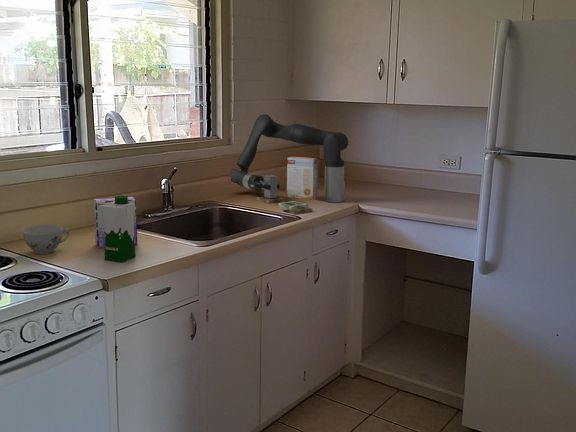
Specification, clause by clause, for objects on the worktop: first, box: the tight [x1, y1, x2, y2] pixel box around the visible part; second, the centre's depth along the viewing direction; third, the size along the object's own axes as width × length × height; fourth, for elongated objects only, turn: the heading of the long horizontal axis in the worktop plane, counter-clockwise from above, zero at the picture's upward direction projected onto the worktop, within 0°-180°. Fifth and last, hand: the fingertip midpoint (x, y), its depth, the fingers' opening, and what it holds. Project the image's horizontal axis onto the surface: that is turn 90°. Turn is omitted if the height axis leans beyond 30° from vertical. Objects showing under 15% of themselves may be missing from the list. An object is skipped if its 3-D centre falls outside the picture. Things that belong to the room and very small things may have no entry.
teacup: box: [21, 224, 70, 255], centre depth 205 cm, size 15×12×8 cm
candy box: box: [93, 196, 138, 249], centre depth 213 cm, size 14×6×16 cm, turn 114°
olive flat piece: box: [255, 195, 313, 215], centre depth 283 cm, size 10×30×3 cm, turn 38°
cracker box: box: [286, 156, 319, 201], centre depth 299 cm, size 14×6×21 cm, turn 65°
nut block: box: [263, 174, 279, 200], centre depth 288 cm, size 4×4×12 cm
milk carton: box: [100, 195, 136, 263], centre depth 196 cm, size 9×9×20 cm
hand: (274, 187), depth 286 cm, fingers closed on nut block, 4 cm apart
